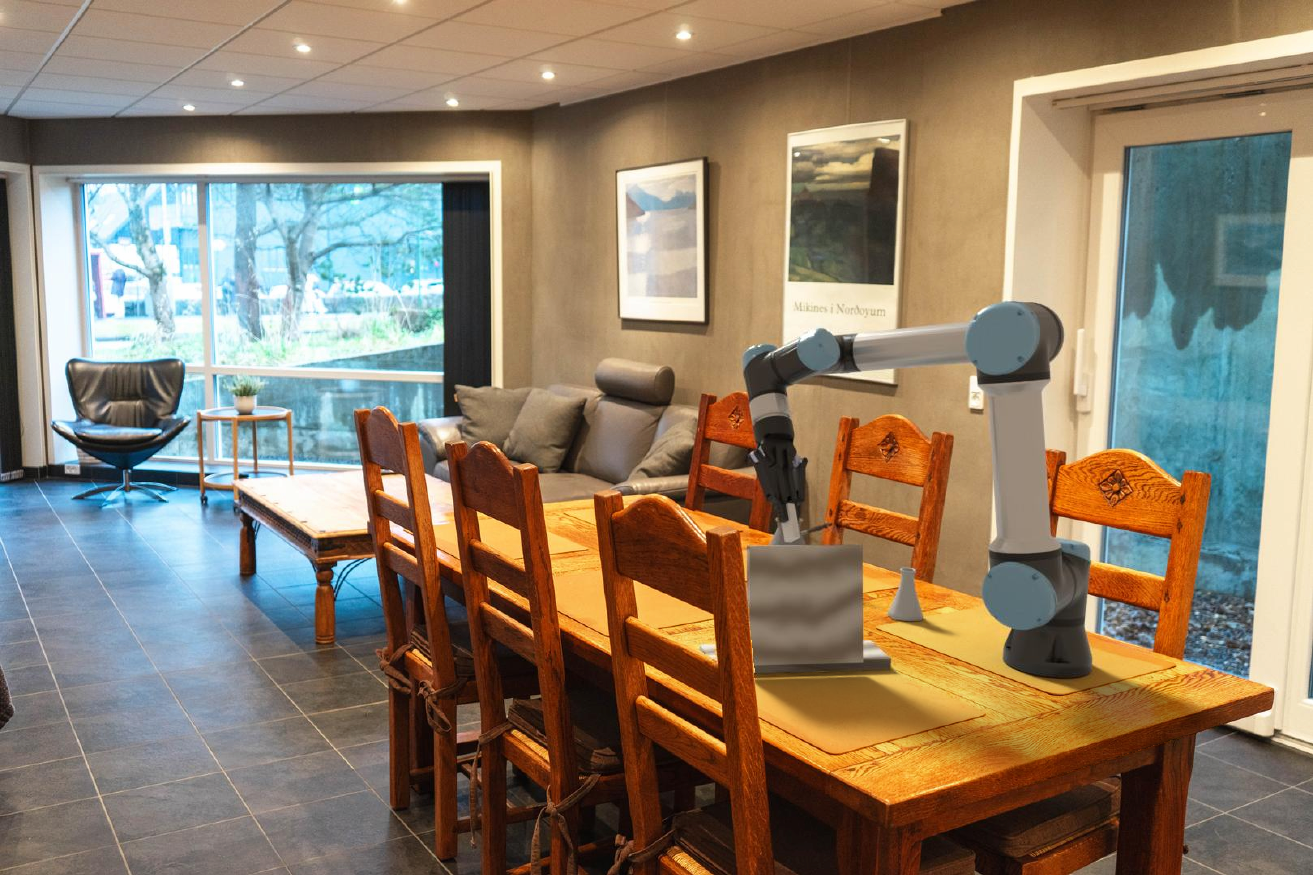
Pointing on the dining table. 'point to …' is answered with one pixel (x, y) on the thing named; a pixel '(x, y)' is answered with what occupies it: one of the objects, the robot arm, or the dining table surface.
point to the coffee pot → (779, 537)
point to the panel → (805, 603)
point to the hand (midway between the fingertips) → (792, 539)
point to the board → (871, 661)
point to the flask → (906, 599)
